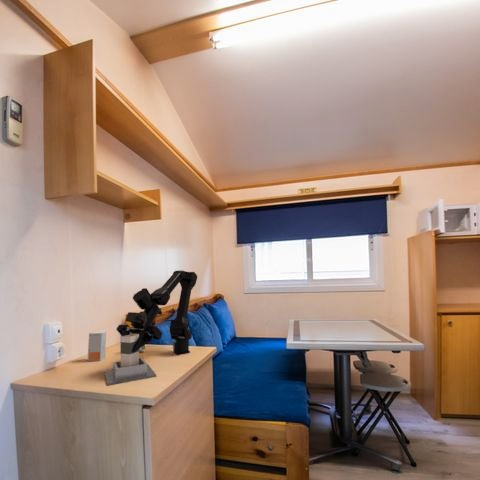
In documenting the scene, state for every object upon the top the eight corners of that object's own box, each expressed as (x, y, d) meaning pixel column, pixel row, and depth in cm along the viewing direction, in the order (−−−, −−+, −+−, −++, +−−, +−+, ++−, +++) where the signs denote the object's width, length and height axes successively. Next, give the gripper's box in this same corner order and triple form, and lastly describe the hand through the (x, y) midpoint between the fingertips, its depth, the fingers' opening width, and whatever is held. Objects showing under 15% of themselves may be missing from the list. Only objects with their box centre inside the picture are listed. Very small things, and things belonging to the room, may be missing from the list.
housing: (147, 365, 116) (147, 355, 116) (156, 376, 102) (156, 364, 102) (104, 372, 108) (104, 361, 109) (107, 385, 94) (107, 372, 95)
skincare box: (87, 361, 125) (88, 333, 127) (92, 358, 130) (93, 331, 131) (100, 361, 125) (101, 332, 127) (105, 358, 129) (106, 331, 131)
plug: (129, 366, 108) (130, 334, 110) (139, 367, 107) (139, 334, 108) (120, 370, 104) (120, 336, 106) (129, 371, 102) (130, 337, 104)
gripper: (120, 304, 116) (96, 337, 104) (157, 304, 109) (136, 340, 97) (134, 321, 122) (112, 354, 110) (170, 322, 115) (151, 357, 103)
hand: (127, 351), depth 105 cm, fingers closed on plug, 5 cm apart
